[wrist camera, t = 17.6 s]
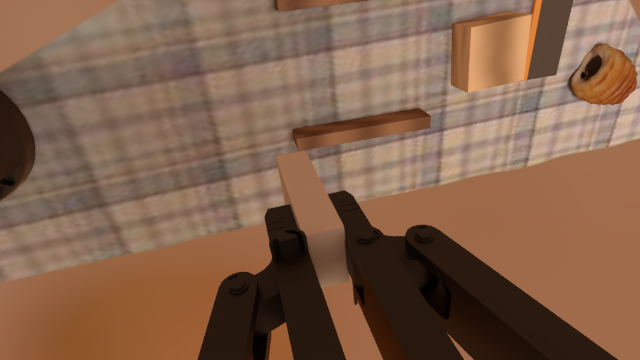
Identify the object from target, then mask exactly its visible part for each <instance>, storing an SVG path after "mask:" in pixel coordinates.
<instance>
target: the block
mask: <svg viewBox="0 0 640 360" xmlns="http://www.w3.org/2000/svg"><path fill="white" fill-rule="evenodd" d="M531 18H532V14H524V13H515V12H505V13H501V14H496V15H491V16H487V17H482V18H477V19H472V20H468V21H463V22H458V23H454V24H452V54H451V85H453V86H455V87H457V88H459V89H461V90H463V91H465V92H467V93H469V92H473V91H478V90H482V89H486V88H490V87H495V86H499V85H503V84H507V83H512V82H516V81H520V80H524V74H525V66H526V58H527V50H528V42H529V34H530V26H531Z"/></svg>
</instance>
